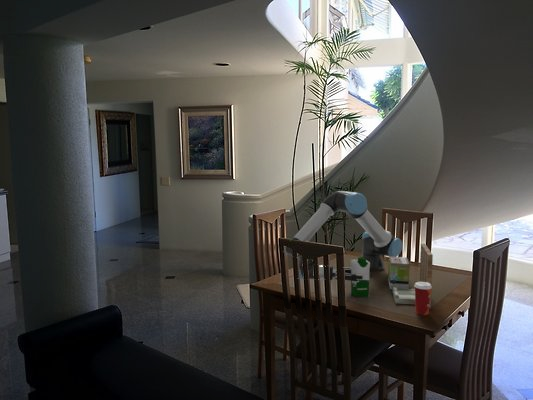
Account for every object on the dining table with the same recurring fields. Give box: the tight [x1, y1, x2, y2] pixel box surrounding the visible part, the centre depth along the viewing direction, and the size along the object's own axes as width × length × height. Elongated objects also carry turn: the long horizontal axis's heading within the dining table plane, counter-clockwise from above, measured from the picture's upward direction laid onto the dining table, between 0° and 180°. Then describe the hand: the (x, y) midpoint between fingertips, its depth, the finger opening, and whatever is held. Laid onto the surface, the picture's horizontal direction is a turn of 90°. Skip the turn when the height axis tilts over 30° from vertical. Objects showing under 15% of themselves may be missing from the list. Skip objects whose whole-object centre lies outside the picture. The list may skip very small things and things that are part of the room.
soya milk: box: [350, 256, 370, 298], centre depth 235 cm, size 9×9×20 cm
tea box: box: [387, 256, 411, 290], centre depth 249 cm, size 15×10×15 cm, turn 168°
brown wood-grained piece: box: [392, 243, 434, 309], centre depth 228 cm, size 24×16×26 cm, turn 169°
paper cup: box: [413, 281, 433, 316], centre depth 210 cm, size 8×8×14 cm
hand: (368, 274), depth 234 cm, fingers closed on soya milk, 9 cm apart
